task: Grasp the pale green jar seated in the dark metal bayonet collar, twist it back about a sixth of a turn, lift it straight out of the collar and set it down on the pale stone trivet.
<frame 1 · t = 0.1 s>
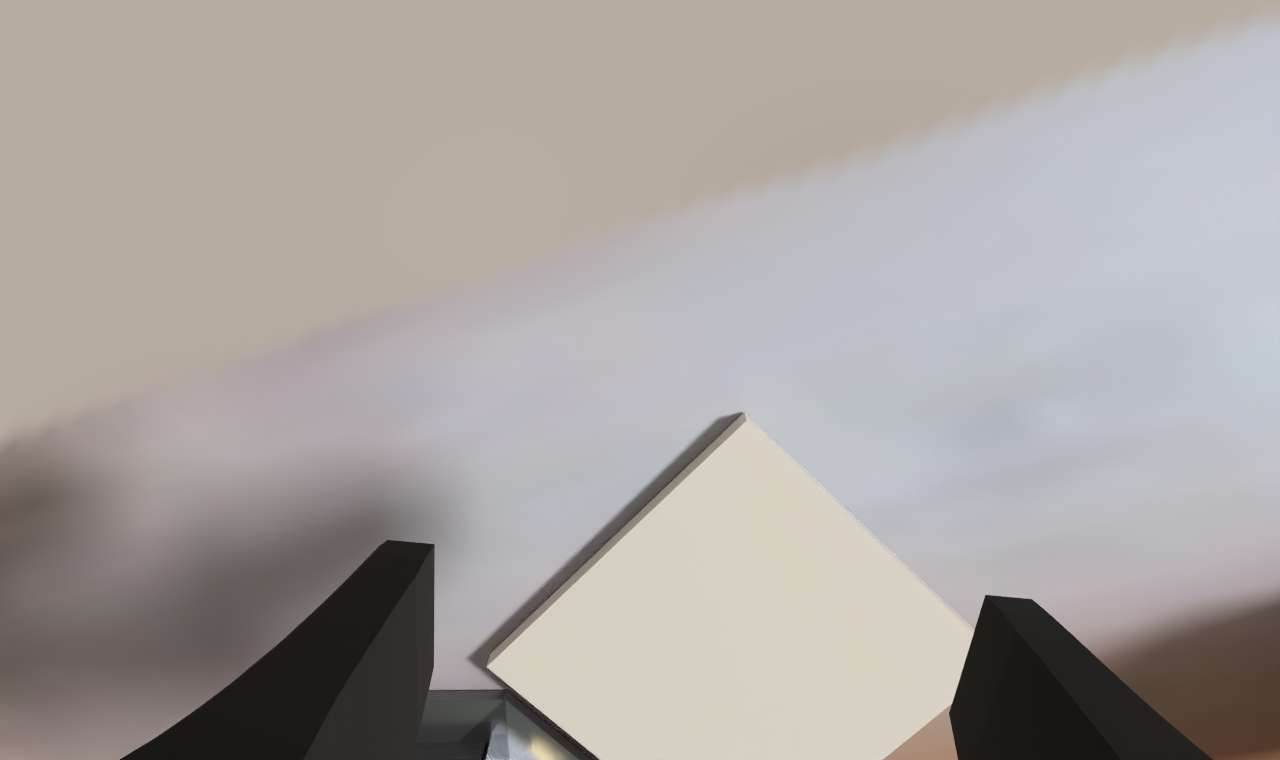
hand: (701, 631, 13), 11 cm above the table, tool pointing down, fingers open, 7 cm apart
trivet: (741, 651, 25), on the table
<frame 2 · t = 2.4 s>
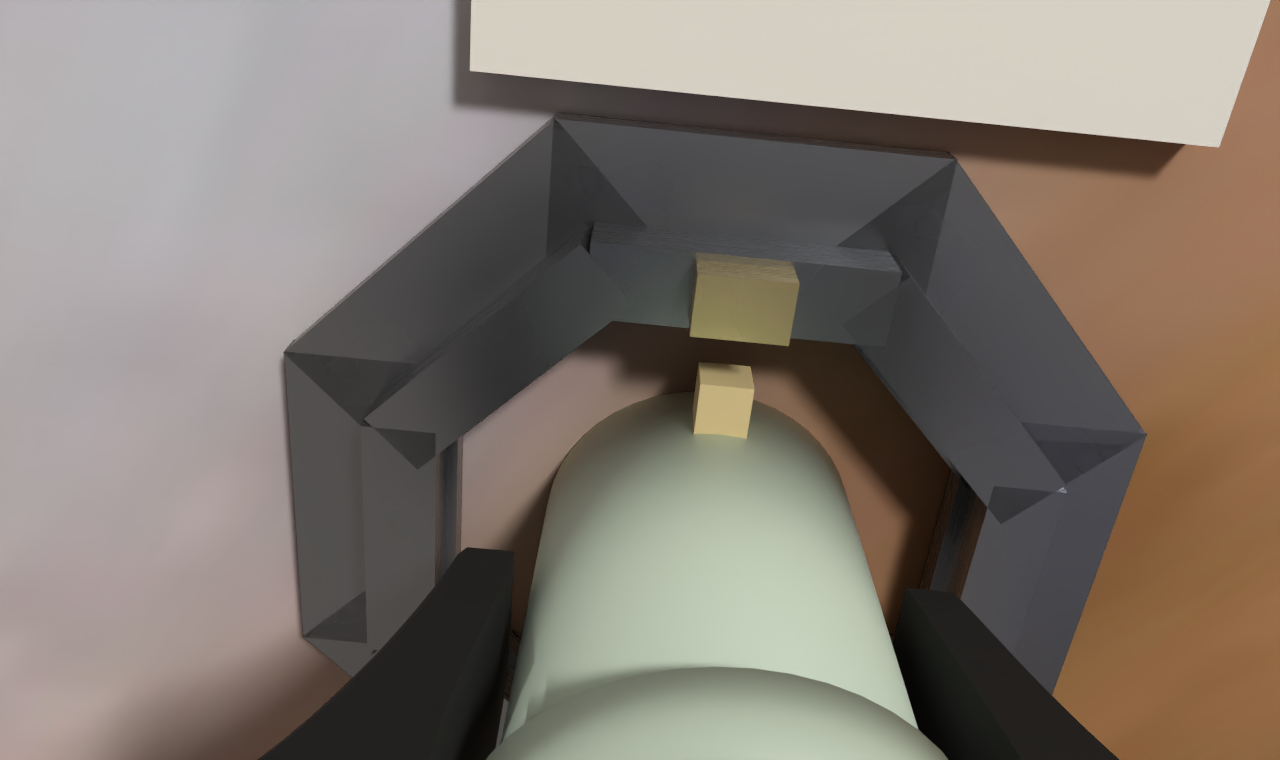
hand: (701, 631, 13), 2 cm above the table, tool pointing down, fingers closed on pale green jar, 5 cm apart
pale green jar: (704, 689, 12), in the bayonet collar, touching gripper
bayonet collar: (696, 527, 15), on the table
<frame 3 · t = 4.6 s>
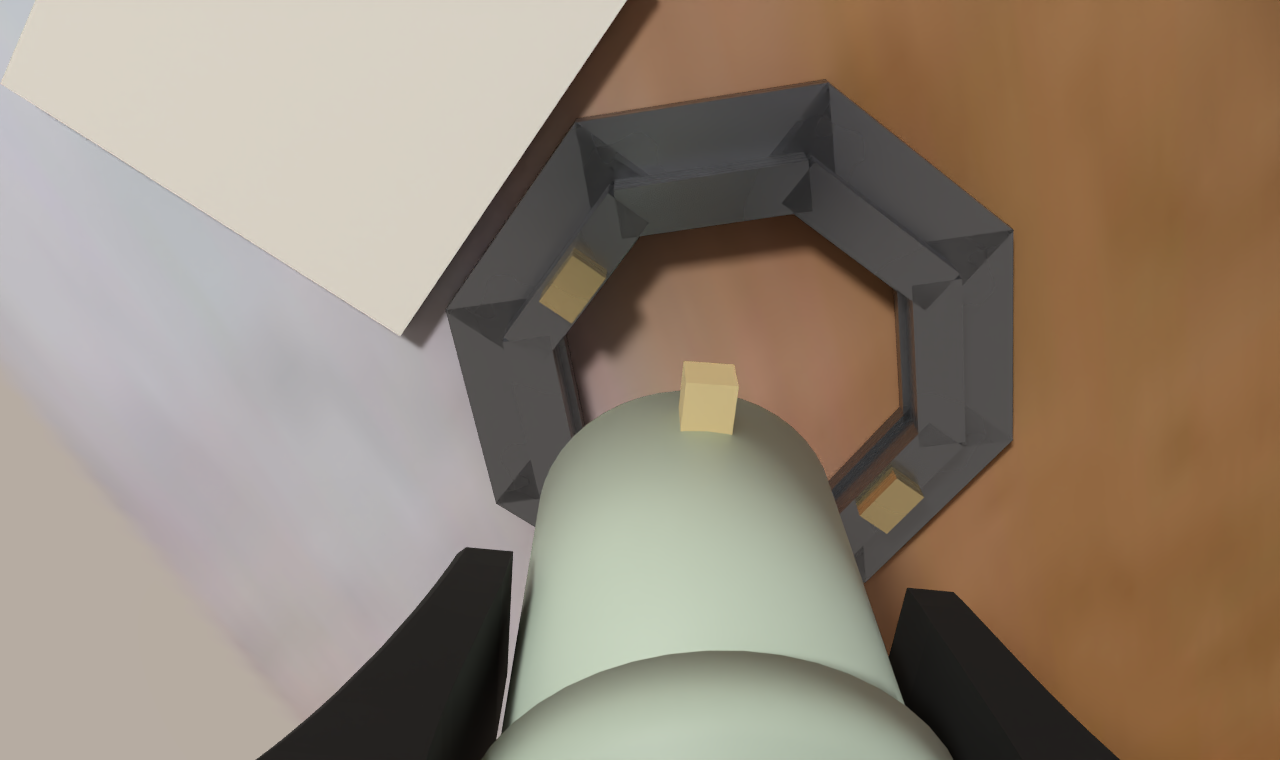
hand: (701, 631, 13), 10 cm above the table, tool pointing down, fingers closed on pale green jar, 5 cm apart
pale green jar: (698, 680, 12), point 11 cm above the table, touching gripper
trivet: (322, 26, 19), on the table
bayonet collar: (734, 369, 22), on the table
when the fingers open (4 cm above the table, at t = 6.8 s): pale green jar stays where it is, resting on trivet.
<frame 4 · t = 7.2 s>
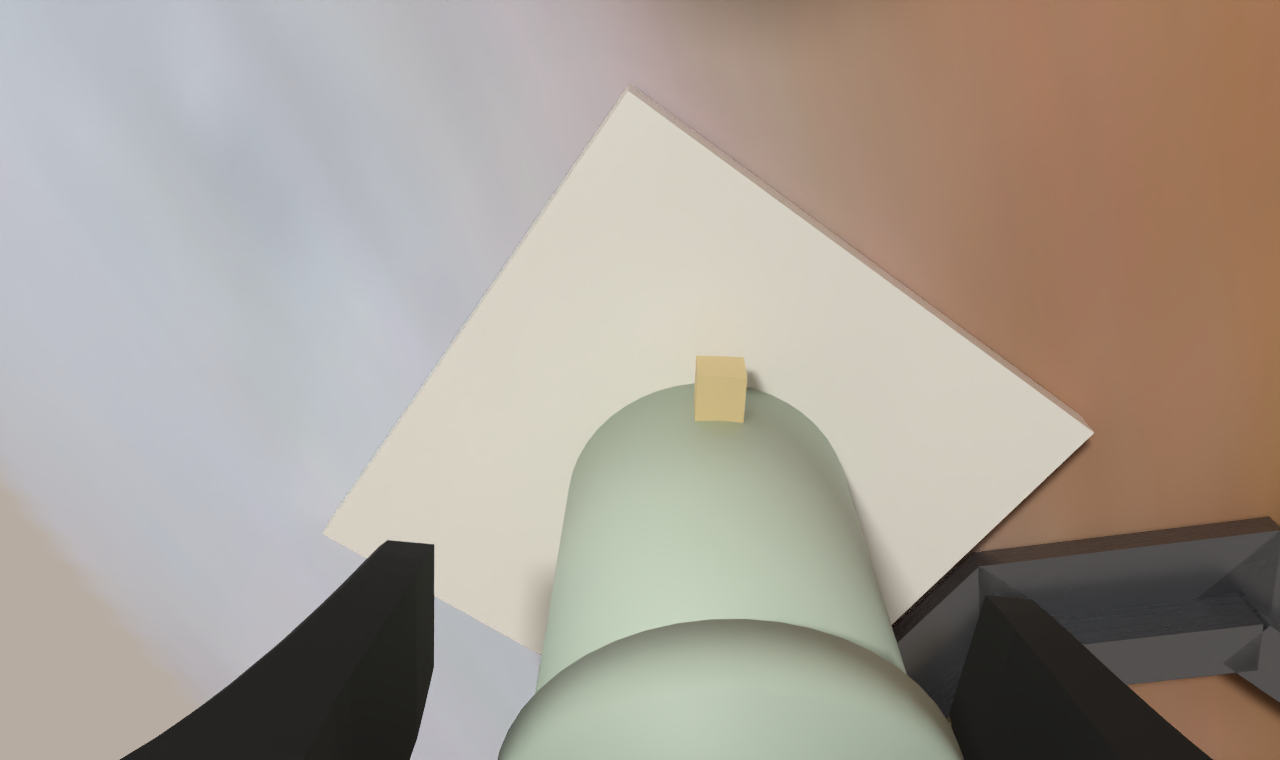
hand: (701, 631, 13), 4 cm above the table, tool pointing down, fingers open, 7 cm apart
pale green jar: (716, 651, 13), on the trivet, point 4 cm above the table
trivet: (693, 466, 17), on the table
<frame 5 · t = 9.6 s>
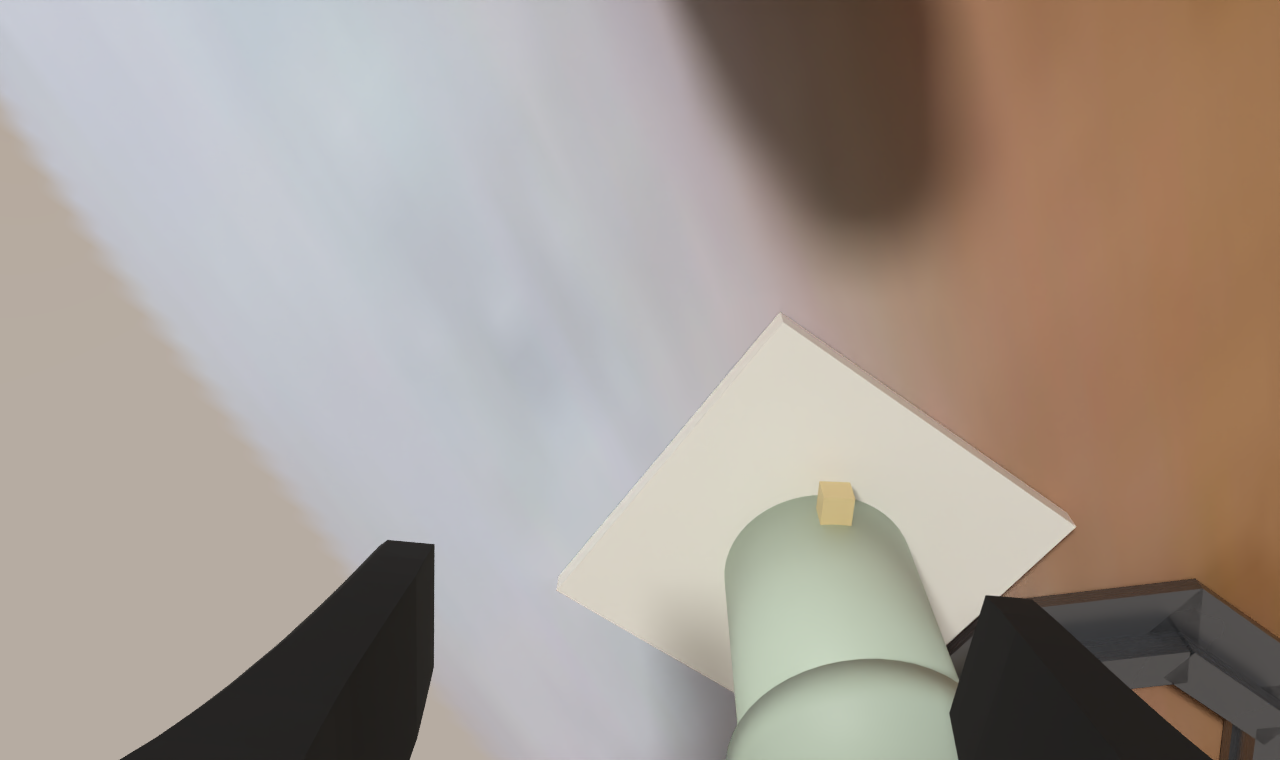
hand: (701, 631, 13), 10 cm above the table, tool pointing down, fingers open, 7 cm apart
pale green jar: (840, 672, 21), on the trivet, point 4 cm above the table
trivet: (806, 545, 25), on the table
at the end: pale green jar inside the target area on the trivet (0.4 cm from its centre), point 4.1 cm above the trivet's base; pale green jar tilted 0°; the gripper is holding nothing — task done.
